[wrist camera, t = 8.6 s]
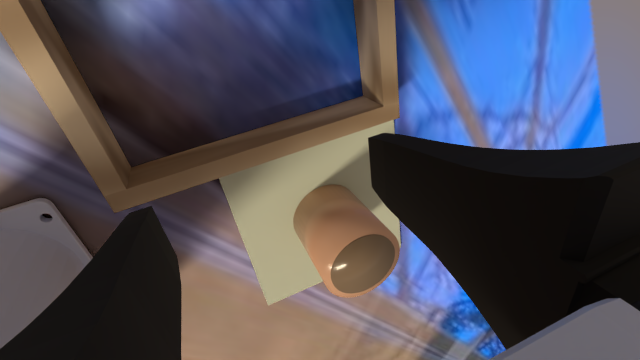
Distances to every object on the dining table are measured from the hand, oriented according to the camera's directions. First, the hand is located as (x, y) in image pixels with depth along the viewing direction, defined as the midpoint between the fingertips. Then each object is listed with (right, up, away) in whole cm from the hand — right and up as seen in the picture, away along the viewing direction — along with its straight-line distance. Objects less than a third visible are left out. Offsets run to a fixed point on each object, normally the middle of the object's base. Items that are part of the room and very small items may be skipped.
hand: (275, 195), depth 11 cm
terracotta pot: (+2, -2, +13) cm, 13 cm away
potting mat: (+2, -2, +13) cm, 14 cm away
